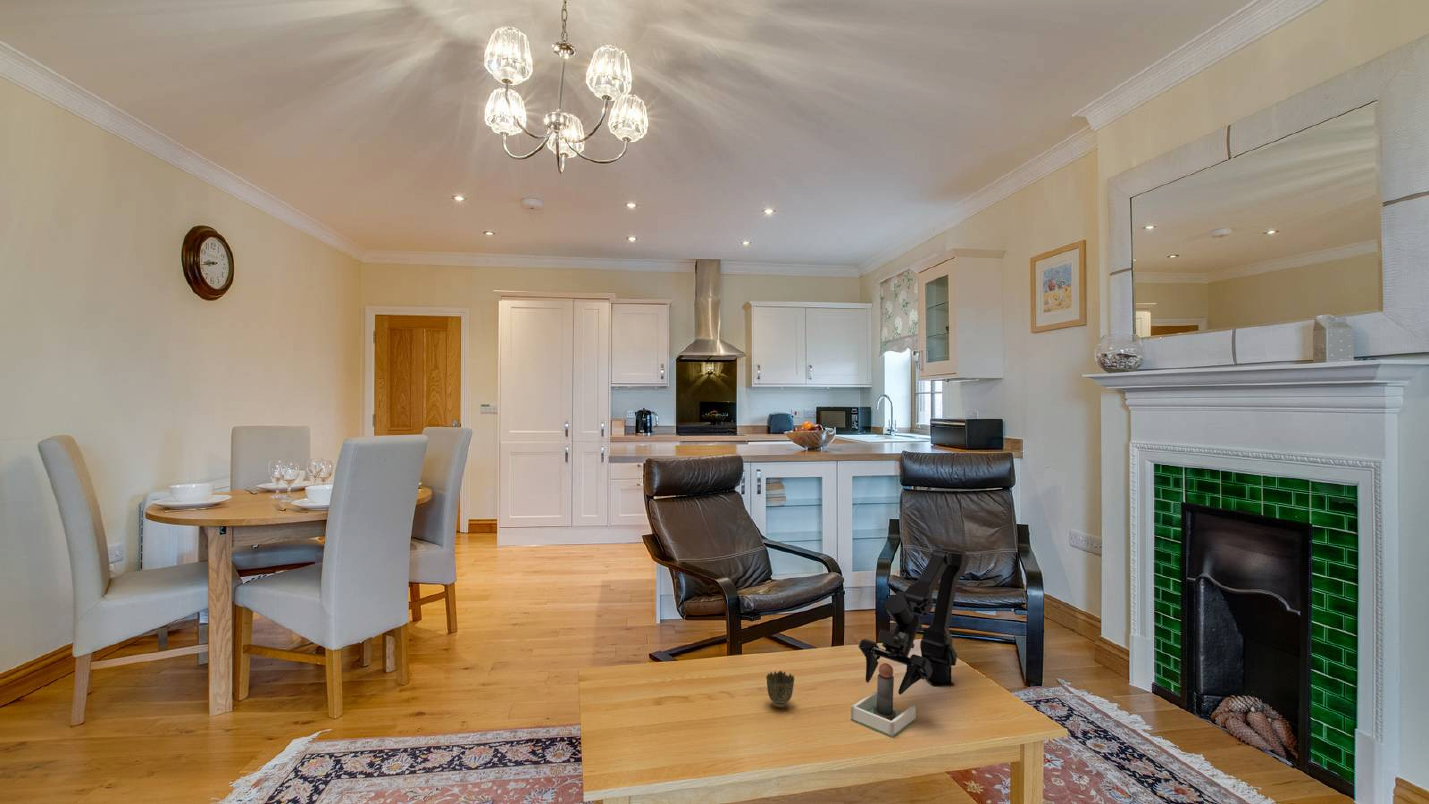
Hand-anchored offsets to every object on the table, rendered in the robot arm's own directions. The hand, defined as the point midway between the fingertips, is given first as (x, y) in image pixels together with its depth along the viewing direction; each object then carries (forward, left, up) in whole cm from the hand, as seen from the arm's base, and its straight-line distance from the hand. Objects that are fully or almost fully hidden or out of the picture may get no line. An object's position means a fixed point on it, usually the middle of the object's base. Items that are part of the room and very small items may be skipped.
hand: (882, 687), depth 160 cm
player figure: (-1, -1, -8) cm, 8 cm away
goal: (0, 0, -8) cm, 9 cm away
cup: (+25, -9, -9) cm, 28 cm away
